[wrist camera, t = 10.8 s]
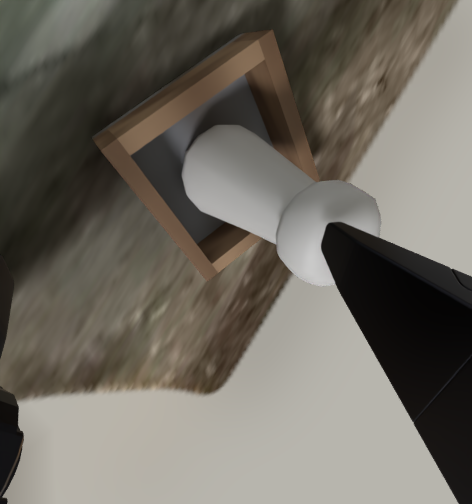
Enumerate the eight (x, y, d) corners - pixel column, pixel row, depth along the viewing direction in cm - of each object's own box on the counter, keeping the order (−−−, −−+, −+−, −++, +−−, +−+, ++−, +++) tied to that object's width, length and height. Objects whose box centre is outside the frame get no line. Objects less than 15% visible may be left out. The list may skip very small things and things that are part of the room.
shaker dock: (189, 257, 25) (207, 281, 23) (91, 137, 18) (100, 150, 15) (293, 176, 27) (322, 189, 24) (239, 33, 19) (272, 29, 17)
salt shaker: (179, 108, 19) (328, 157, 9) (256, 128, 22) (429, 181, 12) (164, 200, 21) (270, 318, 12) (236, 207, 24) (368, 304, 15)
